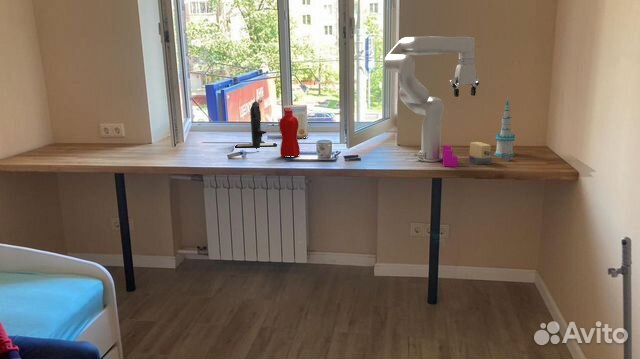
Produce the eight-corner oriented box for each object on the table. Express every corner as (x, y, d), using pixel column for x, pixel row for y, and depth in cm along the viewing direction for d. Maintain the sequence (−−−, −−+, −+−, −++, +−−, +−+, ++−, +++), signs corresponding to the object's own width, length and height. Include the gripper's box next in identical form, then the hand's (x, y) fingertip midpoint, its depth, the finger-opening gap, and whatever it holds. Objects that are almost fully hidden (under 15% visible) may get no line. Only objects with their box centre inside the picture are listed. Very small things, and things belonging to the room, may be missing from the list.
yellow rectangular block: (483, 159, 256) (484, 146, 255) (469, 154, 267) (470, 142, 266) (492, 158, 258) (493, 146, 256) (478, 153, 269) (478, 141, 267)
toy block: (457, 166, 256) (458, 151, 254) (443, 166, 257) (444, 150, 255) (454, 160, 271) (456, 145, 269) (442, 159, 272) (443, 145, 270)
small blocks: (475, 164, 260) (475, 158, 259) (468, 162, 265) (469, 155, 264) (511, 161, 265) (511, 154, 264) (503, 158, 271) (504, 152, 270)
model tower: (515, 156, 274) (519, 97, 266) (495, 156, 276) (498, 97, 268) (512, 152, 284) (516, 95, 276) (493, 152, 286) (496, 95, 278)
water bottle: (286, 153, 296) (284, 108, 290) (302, 155, 290) (300, 109, 284) (275, 156, 289) (273, 110, 283) (291, 158, 283) (290, 111, 277)
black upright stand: (236, 142, 333) (233, 96, 326) (277, 141, 334) (275, 95, 327) (231, 153, 302) (227, 102, 295) (276, 151, 303) (273, 101, 296)
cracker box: (308, 137, 343) (307, 104, 338) (306, 139, 337) (305, 105, 332) (286, 137, 345) (285, 104, 340) (284, 139, 339) (283, 106, 334)
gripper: (476, 61, 279) (475, 94, 283) (447, 62, 274) (446, 96, 278) (485, 61, 272) (483, 95, 276) (454, 63, 267) (453, 97, 271)
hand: (464, 96), depth 277 cm, fingers open, 9 cm apart
